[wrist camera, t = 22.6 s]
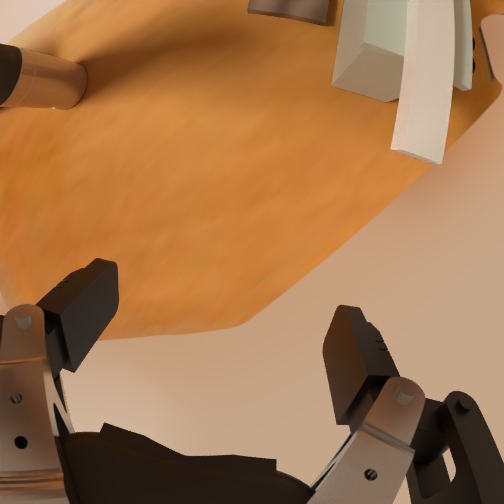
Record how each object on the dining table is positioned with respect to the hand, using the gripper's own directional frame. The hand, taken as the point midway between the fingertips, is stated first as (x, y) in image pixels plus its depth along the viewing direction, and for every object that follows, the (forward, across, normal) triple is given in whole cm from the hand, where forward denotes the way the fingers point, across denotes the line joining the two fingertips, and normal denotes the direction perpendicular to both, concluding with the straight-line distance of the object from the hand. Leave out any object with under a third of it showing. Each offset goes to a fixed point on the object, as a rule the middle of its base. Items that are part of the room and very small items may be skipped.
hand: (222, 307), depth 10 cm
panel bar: (+15, +12, +21) cm, 28 cm away
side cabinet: (+37, +13, +26) cm, 47 cm away
